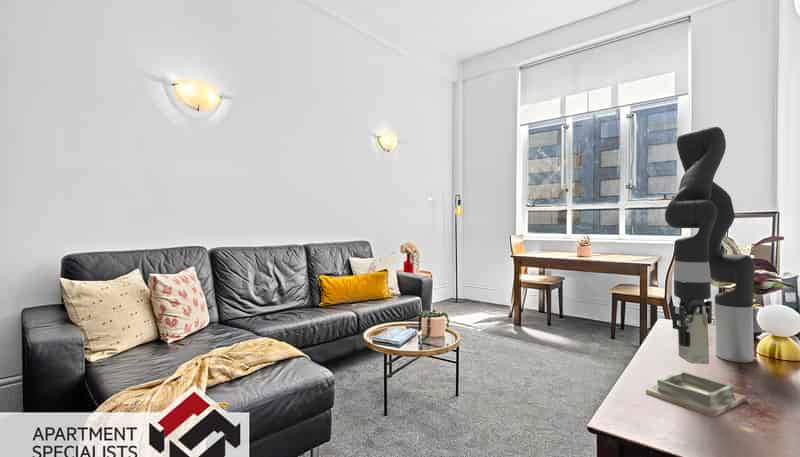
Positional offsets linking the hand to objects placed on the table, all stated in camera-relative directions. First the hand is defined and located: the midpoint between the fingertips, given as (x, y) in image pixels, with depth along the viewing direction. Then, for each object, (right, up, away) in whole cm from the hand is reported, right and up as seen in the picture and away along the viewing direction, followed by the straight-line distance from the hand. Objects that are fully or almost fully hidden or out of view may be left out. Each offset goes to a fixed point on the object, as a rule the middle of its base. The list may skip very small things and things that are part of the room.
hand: (692, 343), depth 100 cm
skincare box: (0, -5, 0) cm, 5 cm away
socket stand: (+1, -14, 0) cm, 14 cm away
